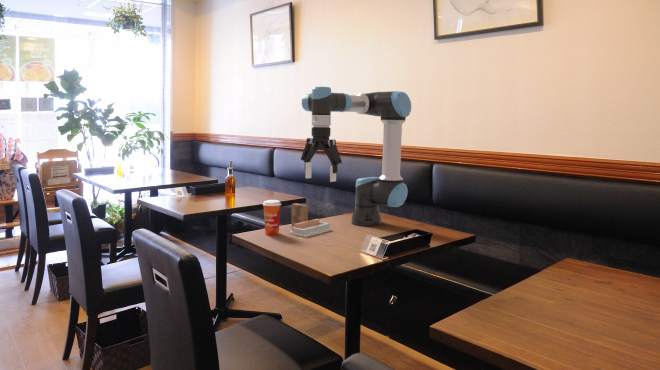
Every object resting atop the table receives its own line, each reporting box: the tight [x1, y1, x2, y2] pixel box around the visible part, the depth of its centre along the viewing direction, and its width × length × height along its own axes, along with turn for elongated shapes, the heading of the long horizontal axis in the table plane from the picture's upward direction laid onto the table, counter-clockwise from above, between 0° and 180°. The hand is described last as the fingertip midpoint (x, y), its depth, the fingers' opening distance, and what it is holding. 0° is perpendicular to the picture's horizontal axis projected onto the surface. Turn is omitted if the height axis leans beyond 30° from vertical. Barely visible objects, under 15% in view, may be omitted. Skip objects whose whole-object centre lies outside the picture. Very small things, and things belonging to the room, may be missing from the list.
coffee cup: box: [262, 199, 282, 236], centre depth 218 cm, size 8×8×15 cm
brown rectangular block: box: [291, 202, 309, 228], centre depth 232 cm, size 8×3×11 cm, turn 49°
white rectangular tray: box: [289, 218, 333, 238], centre depth 224 cm, size 18×10×4 cm, turn 139°
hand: (320, 179), depth 195 cm, fingers open, 13 cm apart
